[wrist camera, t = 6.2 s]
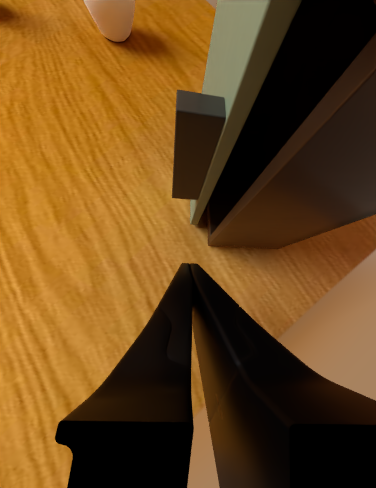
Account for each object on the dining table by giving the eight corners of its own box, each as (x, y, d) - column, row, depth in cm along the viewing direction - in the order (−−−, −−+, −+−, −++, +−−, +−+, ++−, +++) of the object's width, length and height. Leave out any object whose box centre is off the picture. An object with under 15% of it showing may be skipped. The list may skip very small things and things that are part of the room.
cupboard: (277, 249, 17) (1100, -42, 2) (185, 244, 16) (508, -556, 1) (260, 138, 22) (477, -209, 6) (187, 129, 20) (243, -328, 5)
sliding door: (197, 225, 16) (339, -77, 3) (170, 223, 16) (186, -129, 2) (197, 156, 19) (271, -176, 5) (174, 154, 18) (191, -209, 5)
